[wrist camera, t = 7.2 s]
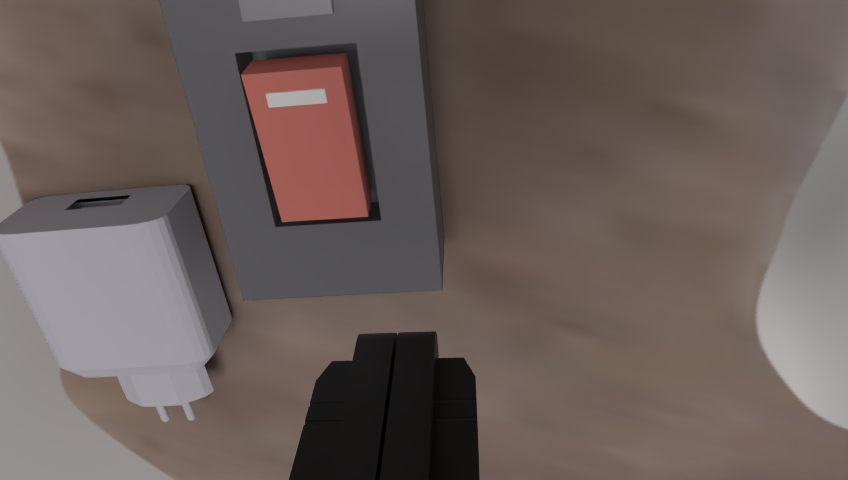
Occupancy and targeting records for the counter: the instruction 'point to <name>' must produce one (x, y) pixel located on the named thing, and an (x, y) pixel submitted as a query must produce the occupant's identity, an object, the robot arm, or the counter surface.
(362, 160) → the block
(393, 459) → the robot arm
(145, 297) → the charger
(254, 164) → the power strip
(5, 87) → the counter surface
